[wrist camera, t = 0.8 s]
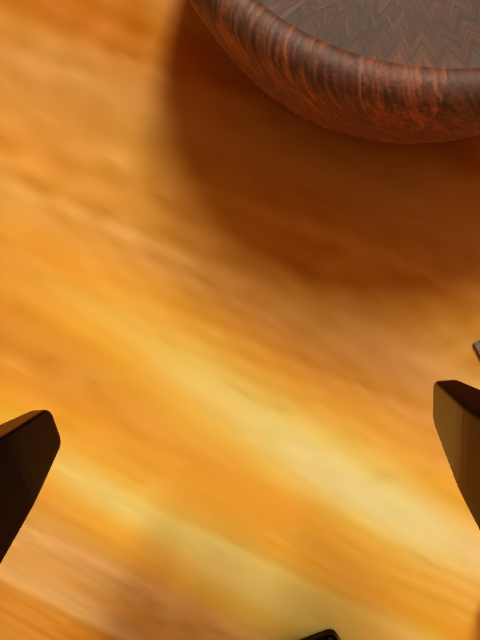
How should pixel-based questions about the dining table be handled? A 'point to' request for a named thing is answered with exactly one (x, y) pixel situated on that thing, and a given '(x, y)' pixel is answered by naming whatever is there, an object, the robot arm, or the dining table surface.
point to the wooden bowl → (360, 62)
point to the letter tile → (477, 346)
